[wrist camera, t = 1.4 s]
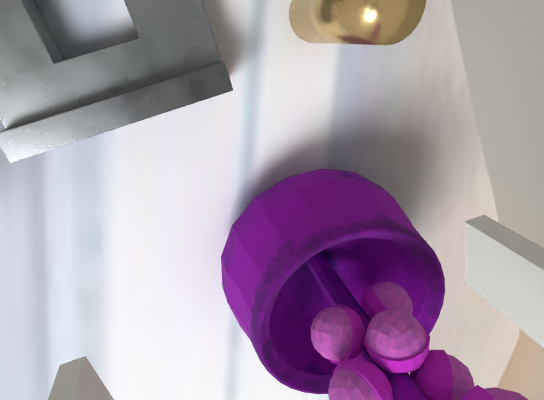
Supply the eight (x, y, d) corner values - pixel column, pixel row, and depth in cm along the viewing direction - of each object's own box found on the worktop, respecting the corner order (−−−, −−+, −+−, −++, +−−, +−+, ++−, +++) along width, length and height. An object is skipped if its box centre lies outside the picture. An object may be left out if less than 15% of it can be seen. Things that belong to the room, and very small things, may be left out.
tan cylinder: (283, -8, 30) (347, -34, 19) (333, -23, 30) (423, -56, 19) (296, 49, 32) (360, 54, 21) (343, 34, 32) (429, 32, 21)
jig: (-111, -100, 22) (-180, -135, 18) (146, -162, 24) (140, -207, 20) (34, 144, 29) (10, 162, 25) (224, 82, 31) (233, 90, 27)
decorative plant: (299, 118, 34) (762, 402, 7) (413, 218, 42) (832, 528, 15) (179, 267, 37) (203, 849, 10) (306, 334, 45) (504, 760, 18)
